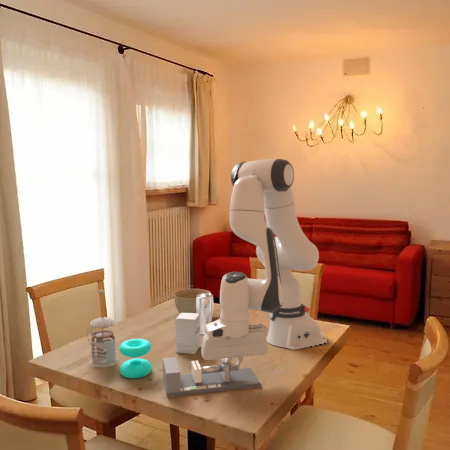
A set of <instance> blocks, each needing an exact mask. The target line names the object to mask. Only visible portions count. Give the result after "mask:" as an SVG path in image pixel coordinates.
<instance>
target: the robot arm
mask: <svg viewBox="0 0 450 450" xmlns="http://www.w3.org/2000/svg"><path fill="white" fill-rule="evenodd" d="M294 180H295V171H294V167H293V165H292V164H291V163H290V161H288V160H286V159H282V158H277V159H271V158H269V159H267V158H265V159H257V160H251V161H241V162H238V163H236V164H235V165H234V166H233V168H232V170H231V172H230V182H231V185H232V190H231V197H230V202H229V203H230V204H229V218H228V219H229V228H230V230H231V231H232V232H233V233H234V235H236V236H237V237H239V238H240V239H242V240H244V241H246V242H248V243H250V244H253V245H255V247H256V249H255V254H256V256H257V259H258V261H259V262H261V263H262V265H263V266H264V270H265V272H264V273H265V278H264V279H259V278H249V277H248V276H247V275H246V274H245V273H243V272H242V271H240V272H239V271H231V272H227V273H225V274H224V275H223V276H222V277H221V278H222V279H221V283H220V288H219V289H220V290H219V306H220V315H219V319H216V320H214V321H212V322H211V323H208V324H206V325H205V331H206V333H205V334H204V335H202V340H201V345H200V347H201V352H200V353H201V356H202V357H201V358H203V359H204V360H205V361H210V360H212V361H213V360H219V359H223V358H226V359H227V361H228V363H229V364H230V371H236V370H240V369H241V368H240V367H241V366H240V365H241V364H242V363H243V360H244V357H251V356H253V357H254V356H261V355H266V353H267V352H268V344H269V345H272V346H275V347H280V348H286V349H289V350H292V351H294V350H295V351H296V350H300V349H306V348H311V347H310V346H312V347H316V346H315V345H317V346H320V345H319V344H322V345H325V344H324V343H326V344H328V338H327V337H326V336H325V335H324V334H323V333H322V331H321V327H320V325H319V323H318V322H317V321H316V320H314V318H312V317H311V316H310V315H308V313H310V312H311V308H310V307H309V306H306V305H305V304H303V303H302V286H301V282H300V281H299V280H298V279H297V277H296V276H294V273H293V272H292V270H294V271H296V272H297V271H299V272H301V271H303V272H304V271H312V270H313V269H314V268H315V267H316V266H317V264H318V262H319V258H320V256H319V255H320V254H319V249H318V247H317V246H316V245H315V244H314V243H313V242H311V241H310V240H309V239H308V237H307V236H306V234H305V233H304V232H303V229H302V227H301V225H300V223H299V220H298V216H297V212H296V206H295V198H294V193H293V189H292V186H293V183H294ZM249 310H252V311H253V310H254V311H262V312H265V313H269V319H270V320H269V326H268V327H269V328H268V327H267V326H265V325H264V324H262V323H259V324H250V314H249ZM305 347H306V348H305ZM234 358H237V360H236V362H233V363H232V361H233V359H234Z"/></svg>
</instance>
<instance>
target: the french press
mask: <svg viewBox="0 0 450 450" xmlns="http://www.w3.org/2000/svg"><path fill="white" fill-rule="evenodd" d="M104 293H105V291H104V290H103V289H99V290H98V294H99V295H100V301H101V302H100V303H101V306H103V294H104ZM103 313H104V312H101V317H98V318H97V317H96V318H94V319H93V320H91V321H90V323H89V326H88V327H87V331H86V336H87V340H88V342H89V344H90V345H91V359H90V361H89V362H88V364H89V366H91V367H92V368H108V367H112V366H115V365H116V364H118V362H119V358H118V357H117V356H116V337H115V335H114V334H115V332H114V331H112V330H108V329H107V330H104V328H108V327H112V326H113V325H115V323H116V321H115V320H114V319H113V318H111V317H106V316H104V315H103ZM103 316H104V317H103ZM96 328H102V330H97V331H94V332H93V333H92V329H93V330H95V329H96ZM89 329H90V336H91V341H90V339H89Z"/></svg>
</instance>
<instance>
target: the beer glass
mask: <svg viewBox="0 0 450 450" xmlns="http://www.w3.org/2000/svg"><path fill="white" fill-rule="evenodd" d="M196 313H198V314H200V336H204V334H205V333H206V331H205V325H206V324H208V323H211V322H213V321H212V320H213V315H214V295H213V294H212V293H211V294H208V293H202V294H198V295H196Z"/></svg>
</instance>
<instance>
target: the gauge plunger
mask: <svg viewBox="0 0 450 450" xmlns="http://www.w3.org/2000/svg"><path fill="white" fill-rule="evenodd" d="M200 367H201V372H202V374H206V373H216V372H220V374H221V376H222V378H223V380H224V382H230V364H229V363H228V361H227V359H226V358H223V359H218V365H217V364H216V365H209V366H200Z"/></svg>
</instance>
